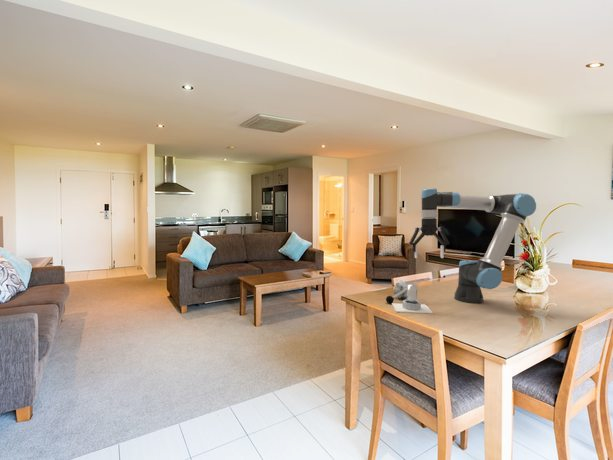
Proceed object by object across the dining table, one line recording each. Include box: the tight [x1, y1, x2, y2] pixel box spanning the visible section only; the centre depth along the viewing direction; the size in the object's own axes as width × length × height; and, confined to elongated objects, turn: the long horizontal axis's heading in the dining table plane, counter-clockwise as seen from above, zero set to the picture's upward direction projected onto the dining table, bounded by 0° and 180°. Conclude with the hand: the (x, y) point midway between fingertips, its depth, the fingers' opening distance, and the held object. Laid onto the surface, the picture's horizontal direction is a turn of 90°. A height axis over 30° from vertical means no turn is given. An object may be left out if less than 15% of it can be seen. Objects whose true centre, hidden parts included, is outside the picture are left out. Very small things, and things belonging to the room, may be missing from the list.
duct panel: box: [391, 299, 434, 315], centre depth 170 cm, size 18×14×4 cm
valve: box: [385, 280, 408, 305], centre depth 187 cm, size 10×18×15 cm
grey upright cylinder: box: [406, 283, 418, 304], centre depth 171 cm, size 6×5×12 cm
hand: (428, 258), depth 173 cm, fingers open, 13 cm apart
